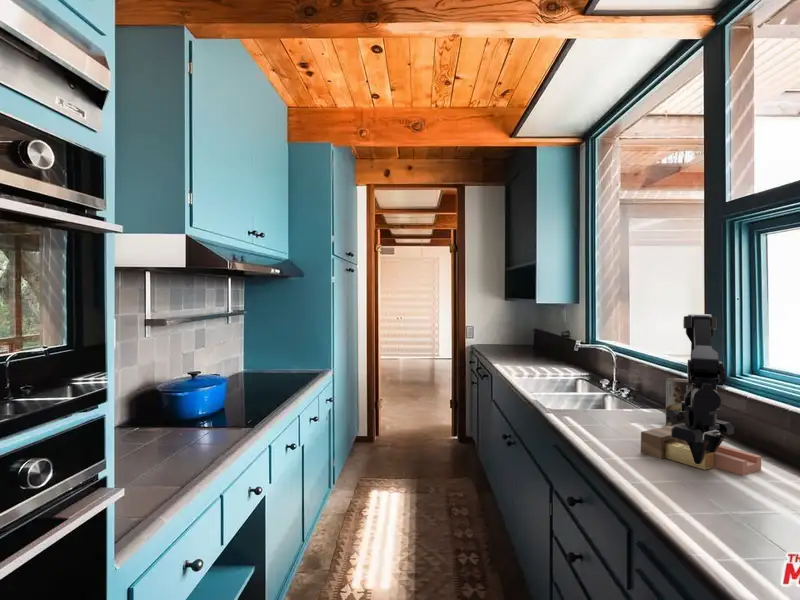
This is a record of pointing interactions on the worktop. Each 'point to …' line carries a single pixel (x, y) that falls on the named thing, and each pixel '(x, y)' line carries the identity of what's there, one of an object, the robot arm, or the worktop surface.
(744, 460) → the rust cradle
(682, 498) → the worktop surface
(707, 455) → the brass block
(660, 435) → the walnut beam
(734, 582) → the worktop surface
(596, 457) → the worktop surface
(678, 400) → the product box
